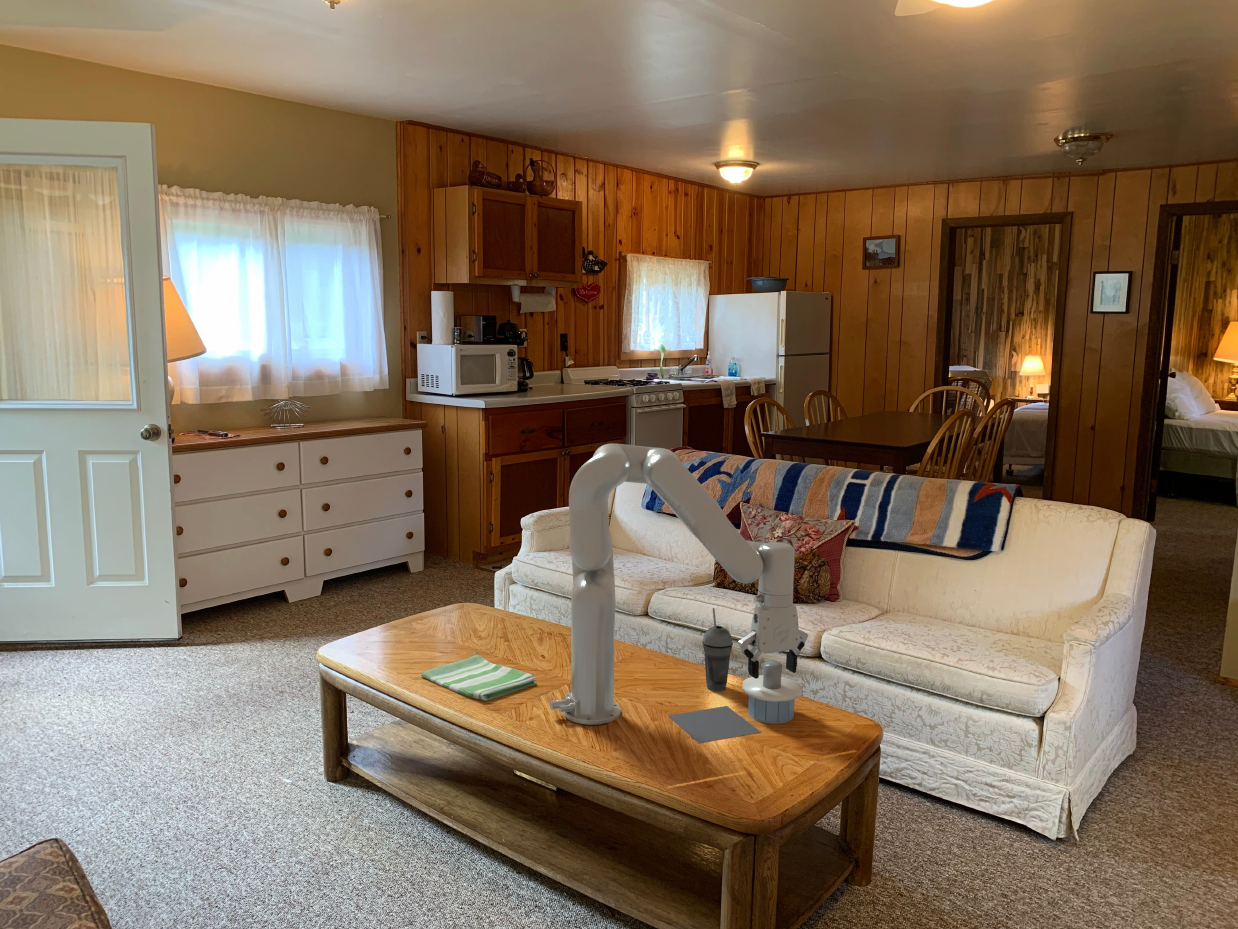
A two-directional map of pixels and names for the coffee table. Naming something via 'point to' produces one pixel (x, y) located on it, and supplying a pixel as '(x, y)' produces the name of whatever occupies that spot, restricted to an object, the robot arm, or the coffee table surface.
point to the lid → (772, 685)
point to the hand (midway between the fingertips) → (772, 673)
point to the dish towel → (479, 678)
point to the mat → (713, 724)
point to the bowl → (771, 710)
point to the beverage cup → (717, 656)
